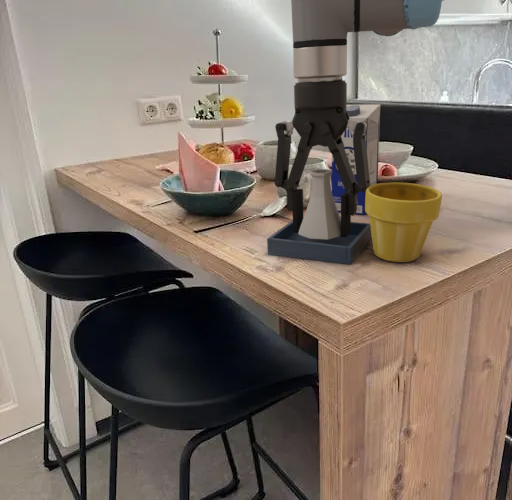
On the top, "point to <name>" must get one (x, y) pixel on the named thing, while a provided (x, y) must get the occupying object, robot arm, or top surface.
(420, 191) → the flower pot
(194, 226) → the top surface
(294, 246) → the tray
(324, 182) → the flask
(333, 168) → the milk carton
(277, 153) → the robot arm
